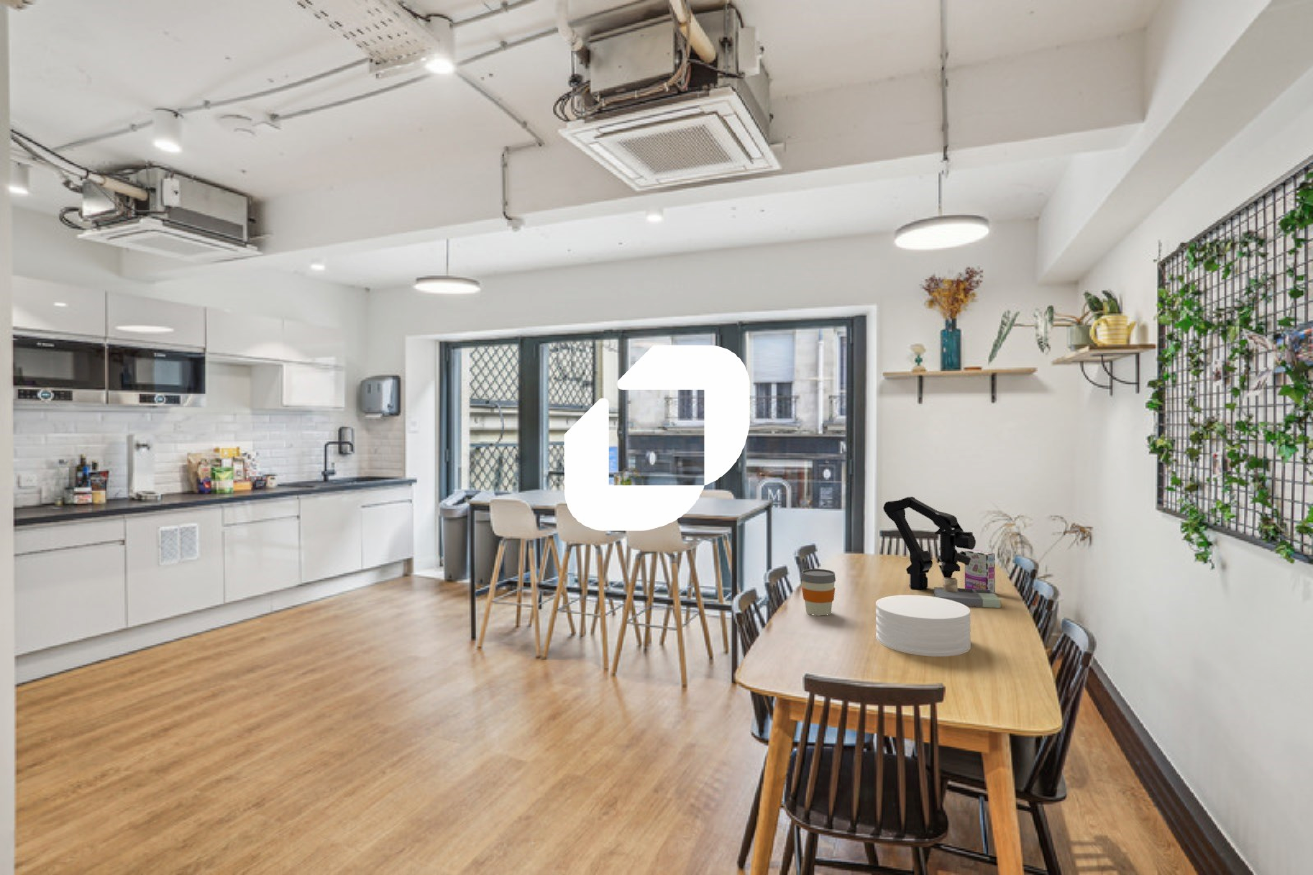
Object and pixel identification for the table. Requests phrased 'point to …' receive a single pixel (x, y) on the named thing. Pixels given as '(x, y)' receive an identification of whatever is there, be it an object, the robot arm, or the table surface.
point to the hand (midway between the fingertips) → (948, 584)
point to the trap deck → (970, 597)
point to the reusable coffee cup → (818, 590)
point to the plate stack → (923, 625)
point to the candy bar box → (980, 570)
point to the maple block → (950, 584)
